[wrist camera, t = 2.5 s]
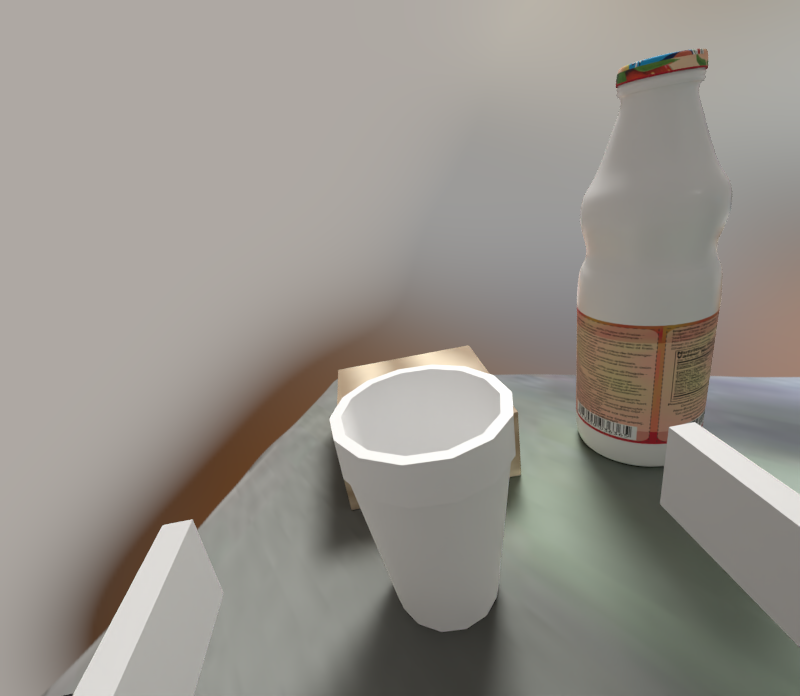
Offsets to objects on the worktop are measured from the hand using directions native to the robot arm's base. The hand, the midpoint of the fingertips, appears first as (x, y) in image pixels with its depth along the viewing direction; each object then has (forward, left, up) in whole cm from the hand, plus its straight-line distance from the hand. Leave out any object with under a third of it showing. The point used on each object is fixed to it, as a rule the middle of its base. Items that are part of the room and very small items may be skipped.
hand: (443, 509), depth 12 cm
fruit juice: (-20, -20, -16) cm, 32 cm away
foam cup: (-1, -10, -16) cm, 19 cm away
